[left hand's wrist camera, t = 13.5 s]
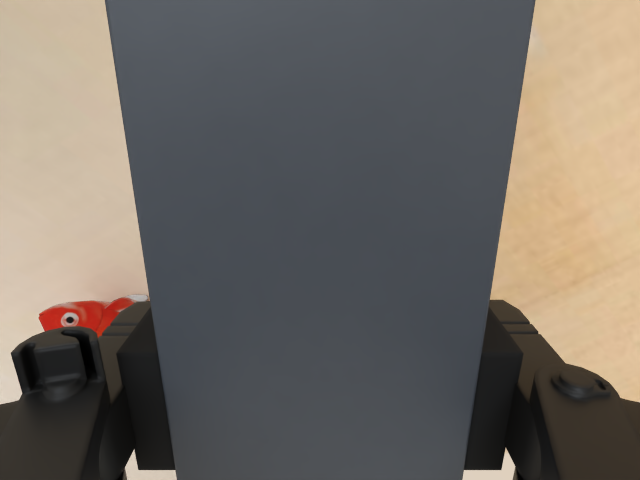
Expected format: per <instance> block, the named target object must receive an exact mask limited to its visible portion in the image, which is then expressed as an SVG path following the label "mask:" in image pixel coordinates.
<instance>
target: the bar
mask: <svg viewBox="0 0 640 480" xmlns="http://www.w3.org/2000/svg"><path fill="white" fill-rule="evenodd" d="M105 4H106V11H107V17H108V24H109V31H110V37H111V44H112V51H113V57H114V64H115V71H116V77H117V84H118V91H119V97H120V104H121V110H122V117H123V124H124V130H125V137H126V144H127V150H128V157H129V164H130V170H131V177H132V184H133V190H134V197H135V204H136V210H137V217H138V223H139V230H140V237H141V243H142V250H143V257H144V263H145V270H146V277H147V283H148V290H149V297H150V303H151V310H152V317H153V323H154V330H155V336H156V343H157V350H158V356H159V363H160V370H161V376H162V383H163V390H164V396H165V403H166V410H167V416H168V423H169V430H170V436H171V443H172V449H173V456H174V463H175V469H176V476H177V480H462V478H463V471H464V465H465V458H466V452H467V445H468V438H469V432H470V425H471V419H472V412H473V406H474V399H475V393H476V386H477V379H478V373H479V366H480V360H481V353H482V347H483V340H484V334H485V327H486V321H487V314H488V307H489V301H490V294H491V288H492V281H493V275H494V268H495V262H496V255H497V248H498V242H499V235H500V229H501V222H502V216H503V209H504V203H505V196H506V189H507V183H508V176H509V170H510V163H511V157H512V150H513V144H514V137H515V130H516V124H517V117H518V111H519V104H520V98H521V91H522V85H523V78H524V72H525V65H526V58H527V52H528V45H529V39H530V32H531V26H532V19H533V13H534V6H535V0H105Z"/></svg>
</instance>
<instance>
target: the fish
mask: <svg viewBox="0 0 640 480" xmlns="http://www.w3.org/2000/svg"><path fill="white" fill-rule="evenodd" d="M147 299H148V297H147V296H146V295H129V296H126V297H124V298H119V299H117V300H114V301H113V302H111V303H109V302H102V301H80V302H68V303H63V304H58V305H55V306H52V307H50V308H48V309H46V310H45V311H43V312H42V313H40V314H39V320H40V322H41V324H42V326H43V328H44V330H45V331H48V330H52V329H56V328H61V327H69V326H82V327H87V328H91V329H92V330H93V331H95V332H96V333H97V336H98V337H99V336H102V333H103V331H104V330H105V329H106V328H107V327H108V326H110V323H111V322H112V321H113V320H114V319H115V317H116V316H117V315H118V314H119V313H120V312H121V311H122V310H124V309H126V308H127V307H129V306H131V305H132V304H134V303H135V302H137V301H146V300H147Z"/></svg>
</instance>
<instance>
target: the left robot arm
mask: <svg viewBox="0 0 640 480" xmlns="http://www.w3.org/2000/svg"><path fill="white" fill-rule="evenodd" d="M11 356H12V359H13V362H14V366H15V369H16V373H17V376H18V380H19V383H20V386H21V390H22V395H21V397H20V399H19V400H18V401H15V402H10V403H6V404H1V405H0V480H127V476H126V471H125V466H126V464H127V462H128V460H129V458H130V456H131V454H132V452H133V450H134V449H135V454H136V460H137V465H138V470H176V469H175V463H174V456H173V449H172V443H171V436H170V430H169V423H168V416H167V410H166V403H165V396H164V390H163V383H162V376H161V370H160V363H159V356H158V350H157V343H156V336H155V330H154V323H153V317H152V310H151V303H150V301H137V302H135V303H134V304H132V305H131V306H129V307H127V308H126V309H124V310H122V311H121V312H120V313H119V314H118V315H117V316H116V317H115V319H114V320H113V321H112V322H111V323H110V326H108V327H107V328H106V329H105V330H104V331H103V333H102V336H99V337H98V336H97V333H96V332H95V331H93V330H92V329H91V328H87V327H82V326H69V327H61V328H56V329H52V330H48V331H45V332H43V333H40V334H37V335H35V336H32V337H31V338H29V339H27V340H26V341H24V342H22V343H21V344H19V345H18V346H17V347H16V348H15V349H14V350H13V351H12V352H11ZM505 448H507V450H508V452H509V454H510V456H511V458H512V460H513V462H514V464H515V466H516V467H515V472H514V476H513V480H640V403H639V402H634V401H630V400H625V399H622V398H620V397H619V395H618V393H617V391H616V390H615V389H614V388H613V387H612V385H611V384H610V383H609V382H607V381H606V380H605V379H603V378H602V377H600V376H599V375H597V374H595V373H593V372H591V371H589V370H586V369H584V368H582V367H578V366H574V365H570V364H566V363H565V362H564V361H563V360H562V359H561V358H560V356H559V355H558V354H557V353H556V352H555V351H554V349H553V348H552V347H551V346H550V345H549V344H548V343H547V341H546V340H545V339H544V338H543V337H542V336H541V334H538V331H537V330H536V329H535V327H534V326H533V325H532V324H530V322H529V320H528V319H527V318H526V317H525V316H524V315H523V314H522V312H521V311H520V310H519V309H517V308H515V307H514V306H512V305H510V304H509V303H507V302H505V301H504V300H490V301H489V307H488V314H487V321H486V327H485V334H484V340H483V347H482V353H481V360H480V366H479V373H478V379H477V386H476V393H475V399H474V406H473V412H472V419H471V425H470V432H469V438H468V445H467V452H466V458H465V465H464V470H501V468H502V463H503V458H504V453H505Z"/></svg>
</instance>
